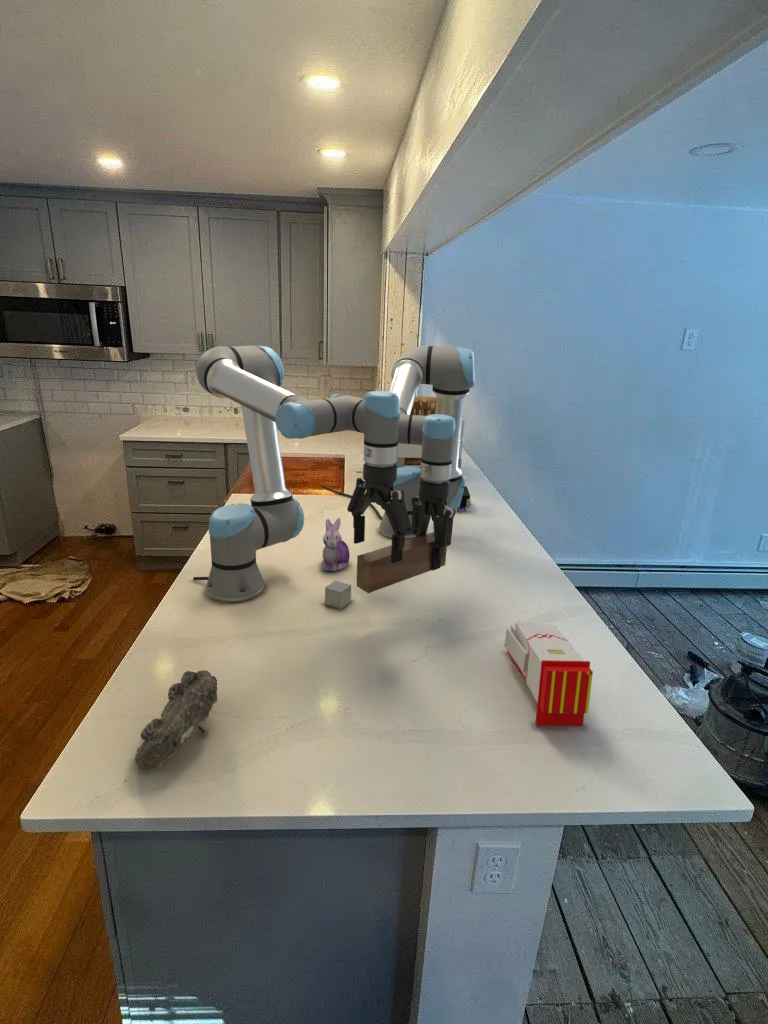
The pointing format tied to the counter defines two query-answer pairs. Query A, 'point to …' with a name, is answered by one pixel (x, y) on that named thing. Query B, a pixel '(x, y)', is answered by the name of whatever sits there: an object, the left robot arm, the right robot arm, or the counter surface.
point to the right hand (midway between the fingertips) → (428, 565)
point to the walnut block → (395, 564)
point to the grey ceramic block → (337, 594)
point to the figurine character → (465, 500)
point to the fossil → (178, 718)
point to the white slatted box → (413, 453)
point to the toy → (551, 672)
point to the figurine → (334, 548)
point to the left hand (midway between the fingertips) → (377, 551)
